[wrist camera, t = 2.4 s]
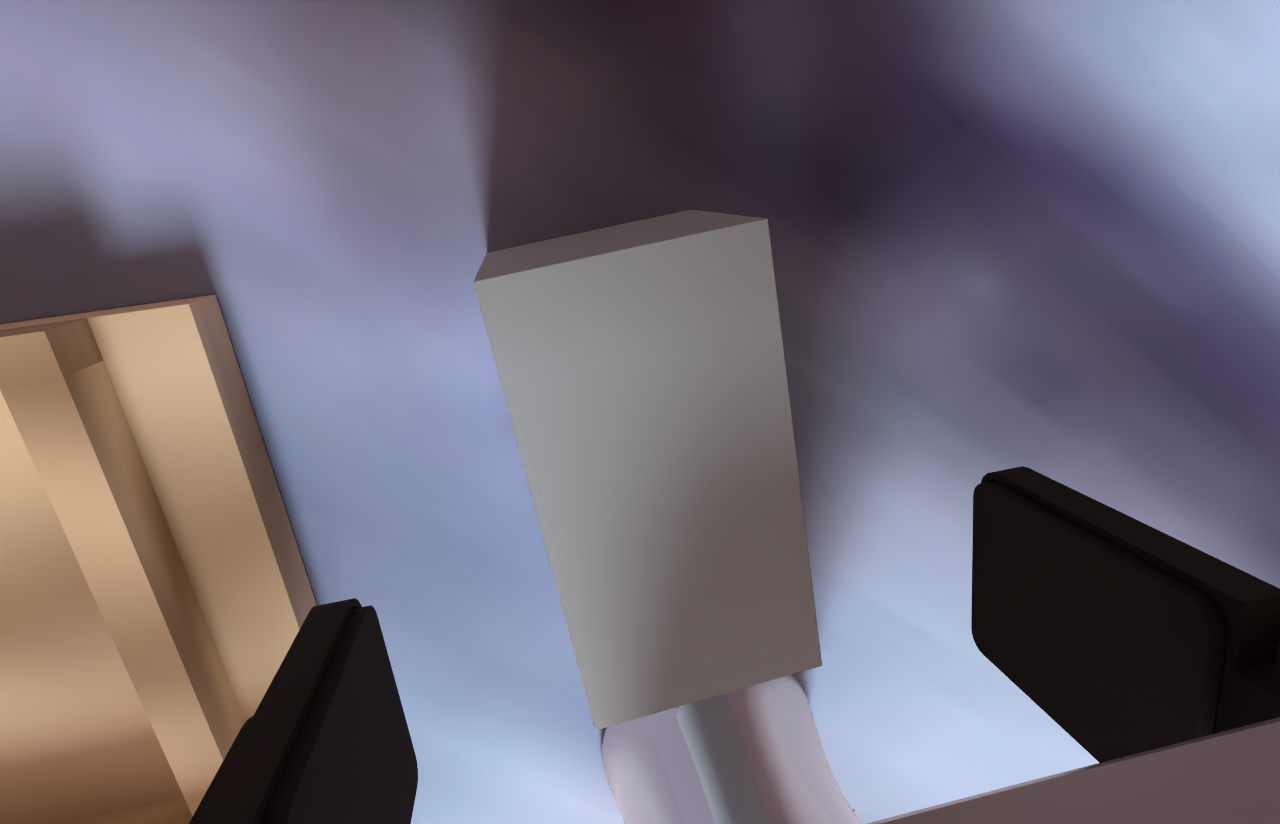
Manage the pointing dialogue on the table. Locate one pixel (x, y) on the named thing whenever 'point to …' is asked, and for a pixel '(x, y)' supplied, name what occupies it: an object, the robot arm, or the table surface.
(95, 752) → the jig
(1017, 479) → the robot arm
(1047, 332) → the table surface
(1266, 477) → the table surface
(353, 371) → the table surface
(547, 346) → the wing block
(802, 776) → the beer glass
